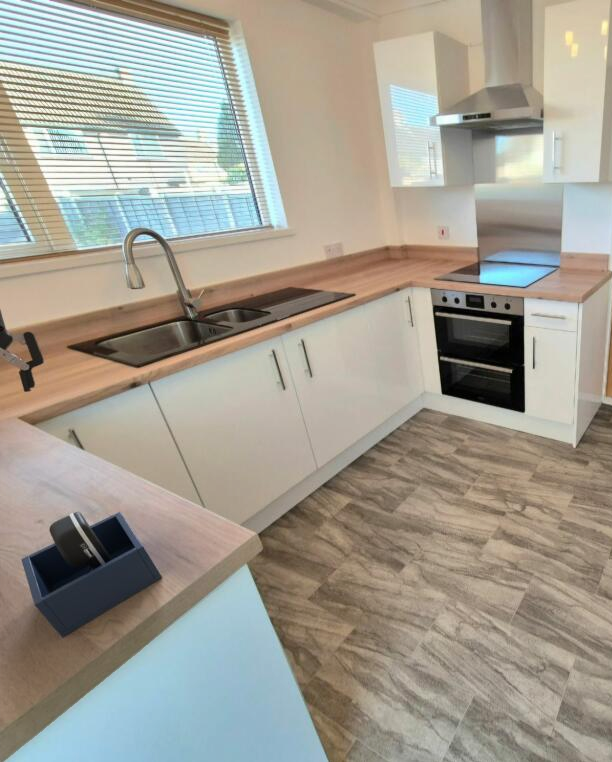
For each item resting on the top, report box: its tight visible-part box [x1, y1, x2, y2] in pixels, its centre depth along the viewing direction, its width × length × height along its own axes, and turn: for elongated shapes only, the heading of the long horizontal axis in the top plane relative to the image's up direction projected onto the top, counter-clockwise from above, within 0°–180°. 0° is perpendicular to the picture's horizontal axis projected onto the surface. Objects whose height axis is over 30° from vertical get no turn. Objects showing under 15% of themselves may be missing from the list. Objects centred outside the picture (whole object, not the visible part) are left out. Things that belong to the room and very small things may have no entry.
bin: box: [21, 511, 163, 638], centre depth 64 cm, size 12×13×7 cm
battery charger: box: [48, 511, 112, 573], centre depth 63 cm, size 7×4×11 cm, turn 53°
